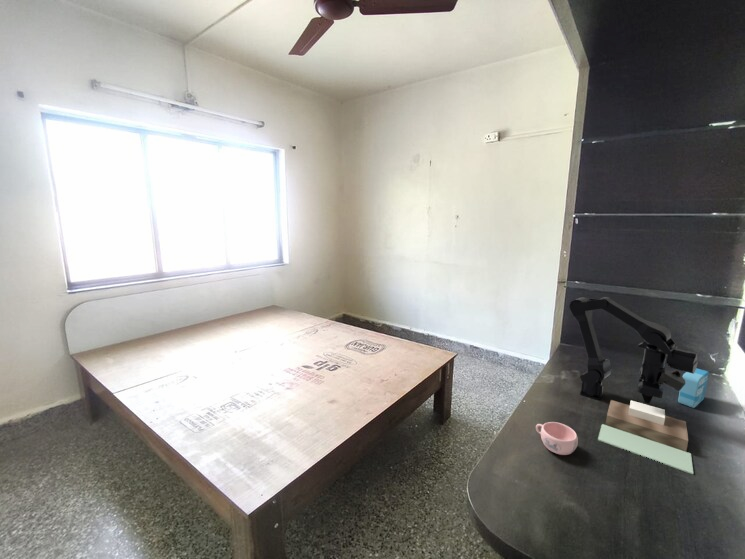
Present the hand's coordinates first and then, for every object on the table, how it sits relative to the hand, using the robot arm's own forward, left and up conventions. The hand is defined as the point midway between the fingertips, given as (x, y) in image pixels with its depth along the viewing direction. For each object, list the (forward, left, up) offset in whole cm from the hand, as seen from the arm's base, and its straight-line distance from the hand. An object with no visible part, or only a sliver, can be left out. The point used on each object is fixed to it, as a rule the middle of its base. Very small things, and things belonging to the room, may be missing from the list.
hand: (646, 403), depth 116 cm
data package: (+13, +22, -5) cm, 26 cm away
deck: (0, -10, -5) cm, 11 cm away
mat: (0, -21, -5) cm, 22 cm away
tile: (0, -8, -1) cm, 8 cm away
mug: (-21, -38, -5) cm, 44 cm away
